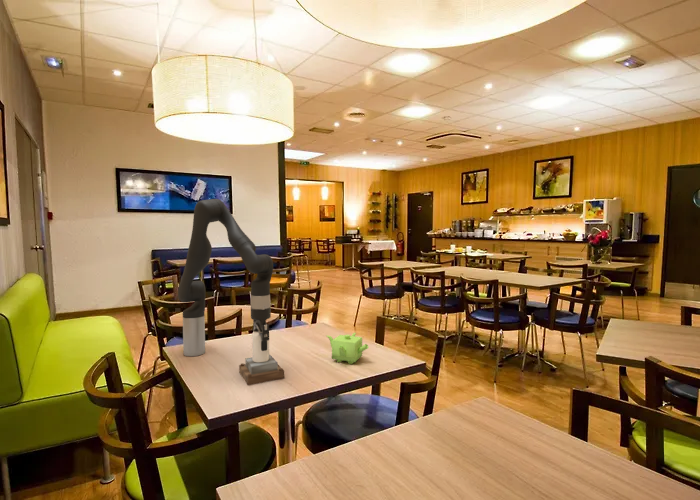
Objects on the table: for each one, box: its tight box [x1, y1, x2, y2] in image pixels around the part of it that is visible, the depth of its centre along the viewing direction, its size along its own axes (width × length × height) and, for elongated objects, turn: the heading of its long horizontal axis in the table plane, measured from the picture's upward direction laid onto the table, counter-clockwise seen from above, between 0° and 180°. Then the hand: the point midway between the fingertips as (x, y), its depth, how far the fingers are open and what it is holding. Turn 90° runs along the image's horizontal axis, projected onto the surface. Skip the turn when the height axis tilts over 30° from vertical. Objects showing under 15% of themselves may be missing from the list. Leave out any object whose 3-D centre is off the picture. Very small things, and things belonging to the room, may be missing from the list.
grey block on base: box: [238, 354, 285, 386], centre depth 150 cm, size 14×14×6 cm
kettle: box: [325, 332, 369, 365], centre depth 167 cm, size 15×14×11 cm
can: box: [251, 329, 270, 363], centre depth 149 cm, size 6×6×12 cm
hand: (261, 347), depth 149 cm, fingers open, 8 cm apart
